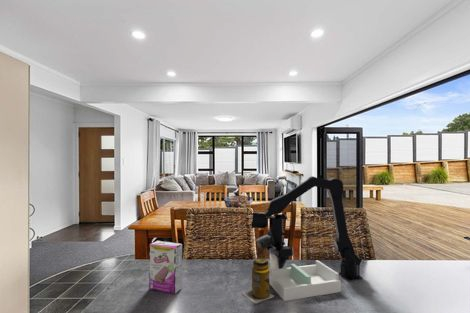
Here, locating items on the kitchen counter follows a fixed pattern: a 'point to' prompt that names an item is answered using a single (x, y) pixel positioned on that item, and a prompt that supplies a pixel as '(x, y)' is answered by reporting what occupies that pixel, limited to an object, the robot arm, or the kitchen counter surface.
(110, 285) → the kitchen counter surface
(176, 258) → the candy bar box
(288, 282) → the white tray
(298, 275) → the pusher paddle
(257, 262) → the condiment
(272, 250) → the jar
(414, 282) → the kitchen counter surface
